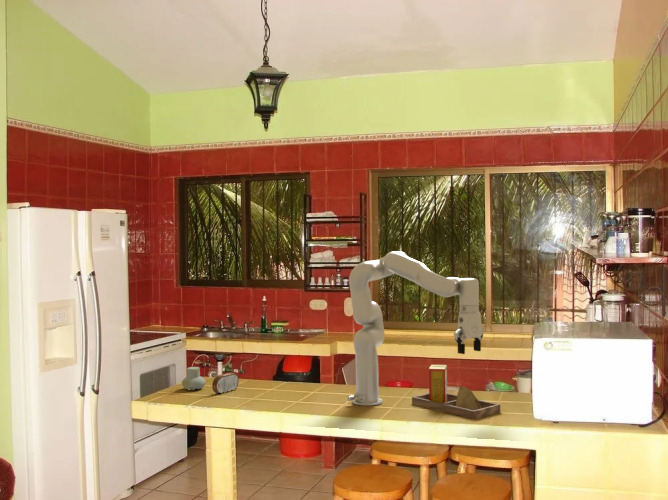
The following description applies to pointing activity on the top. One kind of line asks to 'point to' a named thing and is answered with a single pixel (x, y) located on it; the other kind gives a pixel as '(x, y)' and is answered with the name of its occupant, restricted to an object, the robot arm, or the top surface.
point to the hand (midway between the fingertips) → (469, 352)
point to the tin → (225, 382)
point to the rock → (467, 399)
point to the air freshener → (193, 379)
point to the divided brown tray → (450, 407)
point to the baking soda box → (438, 383)
